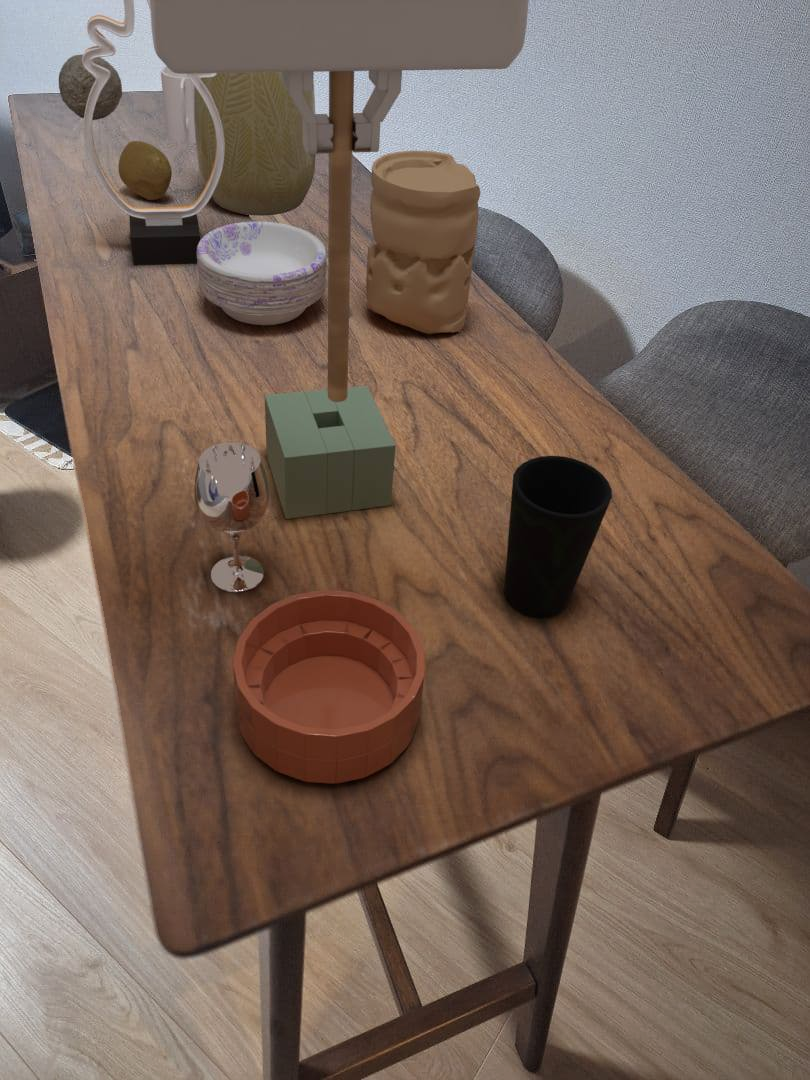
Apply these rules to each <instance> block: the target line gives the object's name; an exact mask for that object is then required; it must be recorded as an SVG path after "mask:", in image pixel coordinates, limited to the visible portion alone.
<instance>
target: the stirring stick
mask: <svg viewBox="0 0 810 1080" xmlns="http://www.w3.org/2000/svg"><path fill="white" fill-rule="evenodd" d="M354 98H355V71H328V117H329V120H331V121H332V123H333V137H332V138H331V141H332V143H333V152H332V153H328V215H327V217H328V219H327V220H328V221H327V223H328V226H327V227H328V228H327V230H328V231H327V233H328V234H327V235H328V236H327V237H328V238H327V239H328V240H327V241H328V243H327V244H328V245H327V246H328V248H327V389H328V398H329V399H330V400H331V401H334V402H342V401H344V400H346V399H347V391H348V387H349V343H350V342H349V339H350V338H349V337H350V298H351V297H350V292H351V291H350V290H351V247H352V246H351V243H352V242H351V241H352V201H353V199H352V196H353V153H354V152H353V113H354V102H355V99H354Z"/></svg>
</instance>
